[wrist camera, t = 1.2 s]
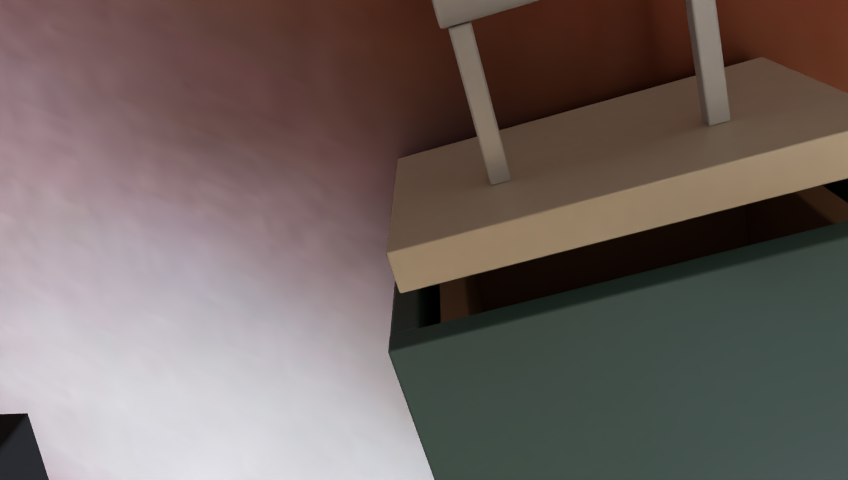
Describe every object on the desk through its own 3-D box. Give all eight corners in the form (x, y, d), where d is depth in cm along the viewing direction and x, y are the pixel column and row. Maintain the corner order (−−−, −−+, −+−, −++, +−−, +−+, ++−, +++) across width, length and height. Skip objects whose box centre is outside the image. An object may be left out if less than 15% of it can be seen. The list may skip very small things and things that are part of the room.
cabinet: (400, 210, 27) (387, 351, 19) (775, 108, 26) (957, 209, 17) (496, 506, 33) (521, 721, 24) (810, 436, 31) (959, 640, 23)
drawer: (343, -12, 23) (306, 21, 16) (742, -136, 22) (892, -160, 15) (493, 459, 31) (513, 624, 24) (798, 390, 29) (917, 542, 22)
